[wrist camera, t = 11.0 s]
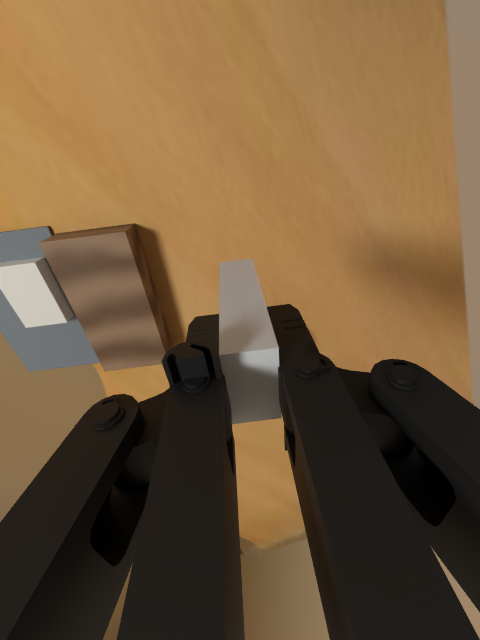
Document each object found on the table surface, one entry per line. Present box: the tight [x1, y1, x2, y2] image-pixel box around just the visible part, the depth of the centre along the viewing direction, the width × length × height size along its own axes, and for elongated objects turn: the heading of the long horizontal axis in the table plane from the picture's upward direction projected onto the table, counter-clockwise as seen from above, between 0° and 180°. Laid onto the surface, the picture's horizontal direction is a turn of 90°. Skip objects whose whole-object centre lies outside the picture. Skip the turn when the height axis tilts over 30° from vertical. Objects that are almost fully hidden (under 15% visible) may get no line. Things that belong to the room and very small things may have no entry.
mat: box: [0, 226, 100, 371], centre depth 39 cm, size 22×14×1 cm, turn 6°
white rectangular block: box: [0, 257, 74, 328], centre depth 37 cm, size 9×6×2 cm, turn 6°
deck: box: [39, 224, 173, 371], centre depth 38 cm, size 20×10×4 cm, turn 6°
